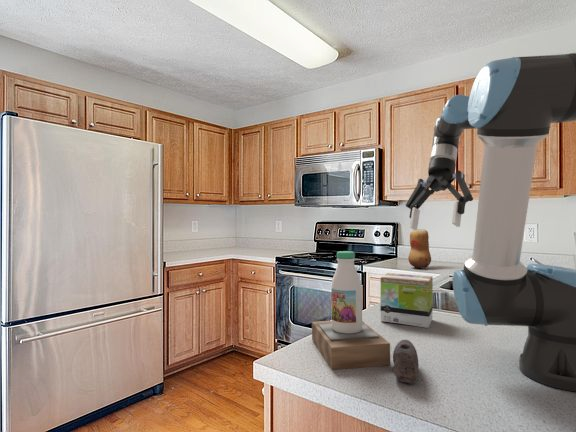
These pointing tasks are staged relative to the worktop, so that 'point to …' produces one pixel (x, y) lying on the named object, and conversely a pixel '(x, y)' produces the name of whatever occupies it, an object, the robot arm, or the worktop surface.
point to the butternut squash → (419, 249)
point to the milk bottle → (346, 295)
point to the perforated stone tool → (405, 362)
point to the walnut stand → (350, 346)
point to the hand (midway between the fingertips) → (433, 227)
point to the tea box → (407, 299)
